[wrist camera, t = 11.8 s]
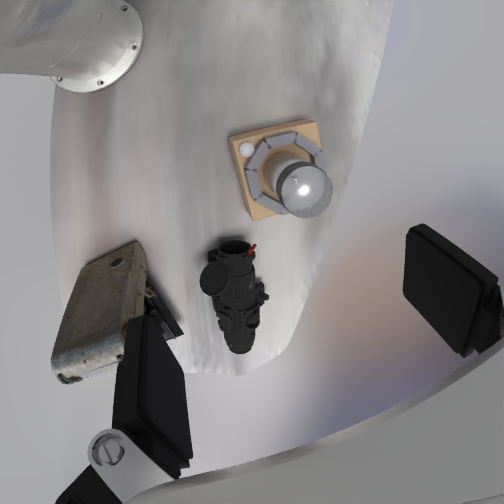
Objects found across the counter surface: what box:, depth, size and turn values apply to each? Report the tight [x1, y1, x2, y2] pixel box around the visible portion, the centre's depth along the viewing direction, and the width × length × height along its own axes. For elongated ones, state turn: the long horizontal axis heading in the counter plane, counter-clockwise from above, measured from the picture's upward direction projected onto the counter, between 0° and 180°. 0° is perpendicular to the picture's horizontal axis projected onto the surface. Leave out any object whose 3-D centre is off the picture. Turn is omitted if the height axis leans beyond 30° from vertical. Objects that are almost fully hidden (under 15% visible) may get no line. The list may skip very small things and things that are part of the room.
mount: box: [228, 119, 327, 221], centre depth 37 cm, size 10×10×6 cm
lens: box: [263, 151, 333, 218], centre depth 32 cm, size 5×5×8 cm
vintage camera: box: [51, 242, 184, 384], centre depth 35 cm, size 10×16×20 cm, turn 19°
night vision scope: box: [200, 240, 269, 354], centre depth 43 cm, size 8×18×10 cm
